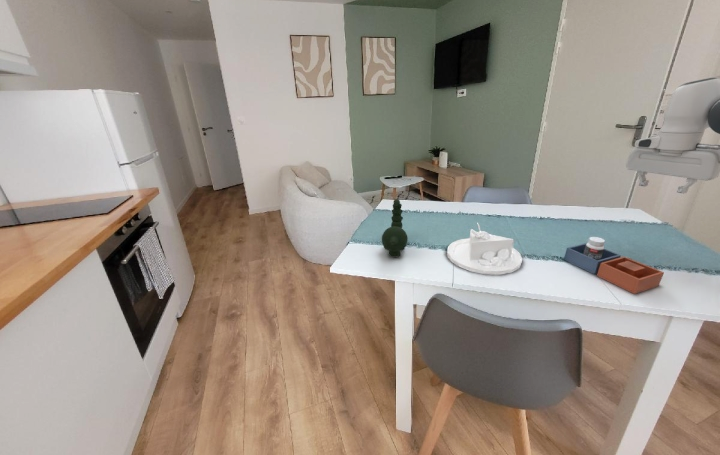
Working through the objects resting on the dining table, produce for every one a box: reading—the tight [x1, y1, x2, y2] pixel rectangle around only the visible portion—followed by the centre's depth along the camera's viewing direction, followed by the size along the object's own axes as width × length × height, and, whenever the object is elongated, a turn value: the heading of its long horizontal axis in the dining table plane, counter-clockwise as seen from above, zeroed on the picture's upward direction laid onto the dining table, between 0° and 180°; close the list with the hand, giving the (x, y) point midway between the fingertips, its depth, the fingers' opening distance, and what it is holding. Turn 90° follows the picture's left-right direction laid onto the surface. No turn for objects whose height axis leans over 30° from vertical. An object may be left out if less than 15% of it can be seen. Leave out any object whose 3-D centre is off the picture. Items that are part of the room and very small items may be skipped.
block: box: [616, 261, 645, 279], centre depth 86 cm, size 4×4×4 cm
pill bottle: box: [583, 236, 606, 261], centre depth 95 cm, size 5×5×8 cm
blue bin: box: [563, 242, 622, 275], centre depth 96 cm, size 10×10×5 cm
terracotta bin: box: [596, 256, 665, 295], centre depth 86 cm, size 10×10×5 cm
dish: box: [446, 222, 523, 276], centre depth 102 cm, size 25×25×11 cm
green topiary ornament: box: [381, 198, 409, 258], centre depth 110 cm, size 9×19×25 cm
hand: (661, 189), depth 88 cm, fingers open, 8 cm apart
